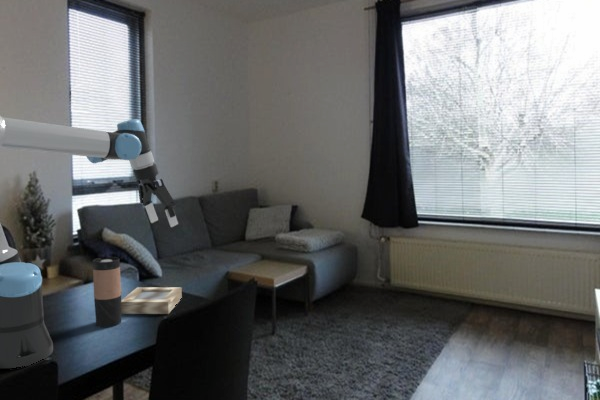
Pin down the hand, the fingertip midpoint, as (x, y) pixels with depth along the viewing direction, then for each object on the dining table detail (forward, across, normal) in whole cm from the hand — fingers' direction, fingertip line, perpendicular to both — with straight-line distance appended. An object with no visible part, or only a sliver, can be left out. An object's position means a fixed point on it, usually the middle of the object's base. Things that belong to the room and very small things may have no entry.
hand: (164, 223), depth 154 cm
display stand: (+24, -1, +14) cm, 28 cm away
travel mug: (+19, -6, +31) cm, 37 cm away
